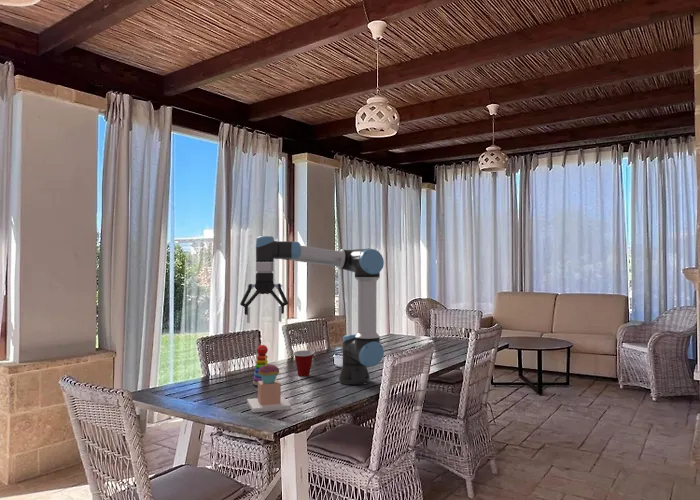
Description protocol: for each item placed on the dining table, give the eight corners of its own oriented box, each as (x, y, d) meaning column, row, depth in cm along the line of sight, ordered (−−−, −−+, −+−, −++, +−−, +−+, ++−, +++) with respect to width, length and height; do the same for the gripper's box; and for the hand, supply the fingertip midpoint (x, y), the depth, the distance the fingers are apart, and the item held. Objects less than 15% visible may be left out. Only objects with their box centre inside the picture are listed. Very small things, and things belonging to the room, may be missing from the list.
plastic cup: (289, 376, 266) (289, 353, 267) (299, 372, 276) (299, 349, 277) (308, 378, 262) (308, 354, 262) (317, 374, 272) (317, 351, 272)
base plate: (282, 399, 222) (282, 396, 222) (290, 409, 207) (290, 405, 207) (247, 402, 217) (247, 399, 217) (252, 412, 202) (252, 408, 202)
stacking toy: (266, 386, 244) (266, 346, 245) (250, 385, 246) (250, 346, 246) (272, 383, 252) (272, 344, 253) (256, 382, 254) (256, 343, 254)
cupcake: (269, 385, 206) (269, 355, 207) (253, 382, 211) (253, 353, 211) (283, 381, 214) (283, 352, 214) (267, 379, 218) (267, 350, 218)
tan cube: (277, 399, 217) (277, 379, 217) (280, 403, 210) (280, 383, 210) (257, 400, 214) (257, 381, 214) (260, 405, 208) (260, 384, 208)
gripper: (291, 272, 231) (291, 320, 231) (234, 272, 223) (233, 322, 223) (295, 272, 224) (294, 321, 224) (236, 272, 216) (235, 324, 216)
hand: (264, 322), depth 223 cm, fingers open, 13 cm apart
